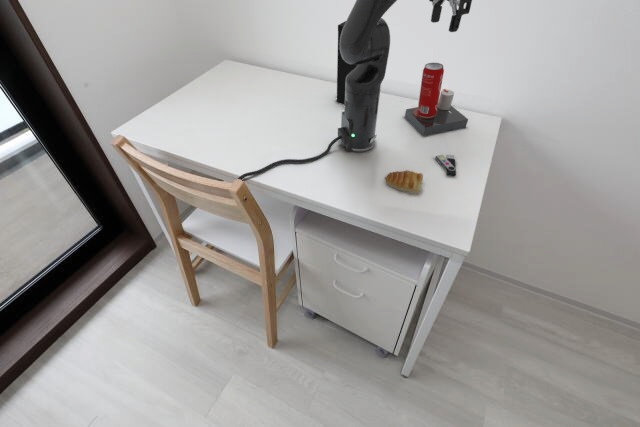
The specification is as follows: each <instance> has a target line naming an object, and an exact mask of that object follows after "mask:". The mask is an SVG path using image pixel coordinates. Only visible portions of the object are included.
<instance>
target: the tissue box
mask: <svg viewBox="0 0 640 427" xmlns="http://www.w3.org/2000/svg"><path fill="white" fill-rule="evenodd" d="M346 21H347V20H344V21H343V22H341V23H339V24H338V25H337V62H336V63H337V64H336V65H337V66H336V69H337V70H336V71H337V72H336V102H337V103H340V104H344V105H345V82H346V77H347V75H348V74H349V73H350V72H351V71H352V70H353V69H354V68H355V67H356V66H357V65H351V64H348V63H346V62H345V61H344V60H343V58H342V56H341V53H340V36H341V32H342V29H343V27H344V25H345V23H346Z"/></svg>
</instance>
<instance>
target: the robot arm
mask: <svg viewBox="0 0 640 427" xmlns="http://www.w3.org/2000/svg"><path fill="white" fill-rule="evenodd" d="M397 1H398V0H356V1H355V2H354V4H353V6H352V8H351V11H350V13H349V15H348V16H347V19H346V20H345V21H346V23H345V25H344V27H343V29H342V32H341V36H340V53H341V56H342V58H343V60H344V61H345V62H346V63H348V64H351V65H357V66H356V67H355V68H354V69H353V70H352V71H351V72H350V73H349V74H348V75H347V77H346V82H345V104H344V108H343V110H344V111H341V117H340V118H341V120H340V121H341V122H340V127H338V128H337V137H335V138H334V139H333V140H331V142H329V144H328V145H327V148H326V149H325V150H324V151H323V152H322V153H320V154H319V155H315V156H312V157H308V158H302V159H297V158H295V159H291V158H288V159H287V158H285V159H280V160H277V161H274V162H272V163H270V164H268V165H265V166H264V167H262V168H260V169H258V170H254V171H249V172H246V173H243V174H241V175H240V176H239V177H238V178H237V179H241V181H242V180H243V179H245V178H247V177H250V176H255V175H259V174H260V173H264V172H266V171H267V170H269V169H271V168H273V167H275V166H278V165H281V164H285V163H286V164H287V163H296V164H302V163H308V162H313V161H316V160H319V159H321V158H323V157H325V156H326V155H328V154H329V152H330V151H331V149H332V147H333V146H334V144H336V143H337V142H338V141H340V142H341V143H342V145H343V146H344V148H345V150H346V151H347V152H357V153H361V152H362V153H363V152H368V151H371V150H372V149H373V148H374V146H375V143H376V138H377V134H376V131H377V130H376V129H377V121H378V114H379V105H380V96H381V95H380V94H381V88H382V83H383V81H384V79H385V76H386V72H387V71H386V70H387V67H388V66H387V65H388V60H389V56H390V48H391V32H390V27H389V25H388V23H387V22H386V20H385V19H384V18H382V17H383V16H385V13H387V11H389V9H391V7H393V5H395V3H397ZM428 1H429V2H431V5H432V7H433V8H432V10H431V11H432V12H431V16H430V17H431V18H430V22H431V23H435V24H436V23H439V21H440V18H441V15H442V11H443V10H442V9H443V4H444V3H445V1H447V2H449V7H451V11H452V15H451V17H450V22H449V25H448V32H449V33H456V32H458V30H459V28H460V24H461V20H462V17H463V15H468V14H470V11H471V7H472V3H473V0H428Z"/></svg>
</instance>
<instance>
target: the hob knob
mask: <svg viewBox="0 0 640 427" xmlns="http://www.w3.org/2000/svg"><path fill="white" fill-rule="evenodd" d="M454 96H455V92H454V91H453V90H451V89H446V88H443V89H442V90H440V96H439V102H438V108H439V109H441V110H449V109H450V107H451V105H452V103H453V99H454Z"/></svg>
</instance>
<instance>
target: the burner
mask: <svg viewBox="0 0 640 427" xmlns="http://www.w3.org/2000/svg"><path fill="white" fill-rule="evenodd" d="M413 114H414V115H415V116H416V117H418V118H421V119H431V118H433V117H431V118H424V117H421V116H419V115H418V109H415V110H414V111H413ZM434 117H435V116H434Z"/></svg>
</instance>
